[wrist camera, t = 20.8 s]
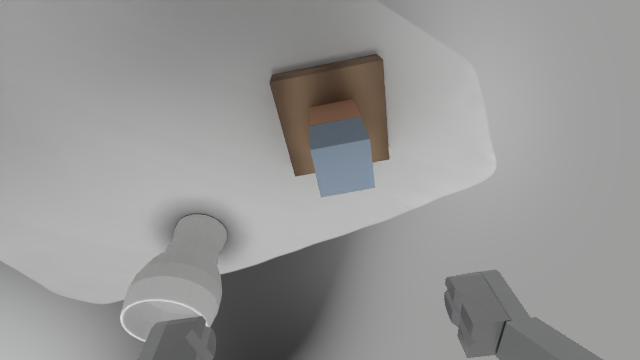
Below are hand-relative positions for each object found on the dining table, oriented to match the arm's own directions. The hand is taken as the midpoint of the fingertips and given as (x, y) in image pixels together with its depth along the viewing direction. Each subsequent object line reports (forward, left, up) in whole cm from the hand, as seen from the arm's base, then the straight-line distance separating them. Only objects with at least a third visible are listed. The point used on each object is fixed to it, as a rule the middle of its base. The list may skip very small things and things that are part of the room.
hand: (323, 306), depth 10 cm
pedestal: (+2, -5, -29) cm, 30 cm away
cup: (-21, -20, -29) cm, 41 cm away
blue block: (+2, -5, -21) cm, 22 cm away
